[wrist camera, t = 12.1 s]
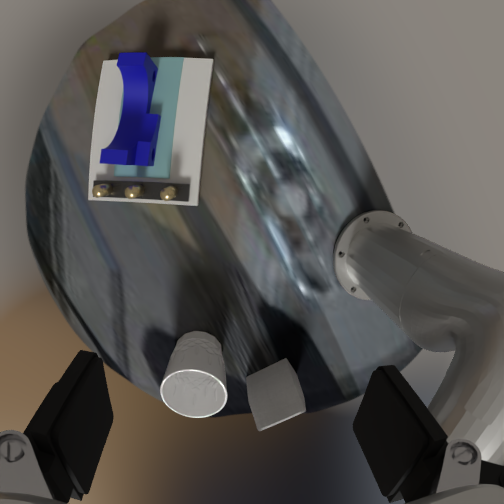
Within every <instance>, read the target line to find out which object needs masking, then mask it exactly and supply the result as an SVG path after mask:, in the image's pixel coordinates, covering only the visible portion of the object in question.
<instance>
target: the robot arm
mask: <svg viewBox="0 0 504 504" xmlns="http://www.w3.org/2000/svg"><path fill="white" fill-rule="evenodd" d="M364 218H365V220H364ZM363 220H364V221H363ZM398 224H399V225H398ZM340 251H341V253H340V254H339V252H340ZM333 266H334V272H335V275H336V277H337V280H338V281H339V283H340V284H341V286H342V287H343V288H344V289H345V290H346V291H347V292H348V293H349V294H351V295H352V296H354V297H356V298H359V299H363V300H372V301H373V302H374V303H375V304H376V305H377V306H378V307H379V308H380V309H381V310H382V311H383V312H384V313H385V314H386V315H387V316H388V317H389V318H390V319H391V320H392V321H393V322H394V323H395V324H396V325H397V326H398V327H399V328H400V329H401V330H402V331H403V332H404V333H405V334H406V335H407V336H408V337H409V338H410V339H411V340H412V341H413V342H415V343H416V344H417V345H418V346H420V347H422V348H423V349H426V350H429V351H432V352H449V351H455V354H454V357H453V359H452V362H451V364H450V366H449V368H448V370H447V372H446V375H445V377H444V379H443V381H442V383H441V385H440V387H439V389H438V390H437V392H436V394H435V396H434V397H433V399H432V401H431V402H430V404H429V406H428V408H427V407H426V406H425V405H424V403H423V402H422V401H421V399H420V398H419V397H418V395H417V394H416V393H415V391H414V390H413V389H412V388H411V386H410V385H409V383H408V382H407V381H406V380H405V378H404V377H403V376H402V374H401V373H400V372H399V371H398V369H397V368H396V367H395V366H394V365H388V366H379V367H378V368H377V369H376V370H375V371H373V373H372V375H371V378H370V381H369V384H368V386H367V389H366V392H365V394H364V397H363V400H362V402H361V405H360V407H359V410H358V412H357V415H356V417H355V419H354V422H353V431H354V433H355V435H356V437H357V440H358V442H359V444H360V446H361V448H362V451H363V453H364V455H365V457H366V459H367V462H368V464H369V466H370V468H371V470H372V473H373V475H374V477H375V479H376V482H377V484H378V486H379V489H380V491H381V493H382V495H383V496H385V497H386V496H387V498H388V501H389V503H391V502H394V501H398V500H401V499H404V500H405V504H504V272H502V271H499V270H496V269H493V268H490V267H488V266H485V265H483V264H480V263H478V262H476V261H473V260H471V259H469V258H467V257H464V256H462V255H460V254H458V253H456V252H453V251H451V250H449V249H447V248H444V247H442V246H440V245H438V244H436V243H433V242H431V241H429V240H426V239H424V238H422V237H419V236H417V235H415V234H412V232H411V230H410V228H409V226H408V225H407V224H406V222H405V221H404V220H403V219H401V218H400V217H399V216H397V215H395V214H394V213H391V212H388V211H383V210H372V211H368V212H365V213H362V214H360V215H359V216H357V217H355V218H354V219H353V220H351V221H350V222H349V223H348V224H347V225H346V227H345V228H344V229H343V230H342V232H341V234H340V235H339V237H338V239H337V242H336V244H335V248H334V253H333ZM352 287H353V288H352ZM351 288H352V289H351ZM106 383H107V382H106V377H105V372H104V366H103V361H102V358H99V357H98V355H97V353H94V352H88V351H83V350H80V351H79V352H78V354H77V355H76V357H75V358H74V359H73V361H72V362H71V364H70V365H69V367H68V368H67V370H66V371H65V373H64V374H63V376H62V378H61V379H60V380H59V382H57V383H55V384H54V385H53V386H52V388H51V390H50V391H49V393H48V394H47V396H46V397H45V399H44V400H43V402H42V404H41V405H40V407H39V408H38V410H37V411H36V413H35V415H34V416H33V418H32V419H31V421H30V423H29V424H28V426H27V428H26V429H25V431H24V433H21V432H19V431H14V430H6V431H3V432H0V504H67V503H68V502H69V500H70V497H71V498H74V499H77V500H80V501H81V500H82V497H83V494H88V493H89V490H90V487H91V484H92V481H93V478H94V475H95V472H96V469H97V465H98V463H99V460H100V457H101V454H102V451H103V448H104V445H105V443H106V440H107V437H108V434H109V431H110V428H111V426H112V423H113V411H112V407H111V402H110V398H109V393H108V388H107V384H106Z"/></svg>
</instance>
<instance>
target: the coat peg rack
mask: <svg viewBox="0 0 504 504" xmlns="http://www.w3.org/2000/svg"><path fill="white" fill-rule="evenodd" d="M92 194H93V197H96V198H99V197H110V198H128V199H151V200H164V201H184V202H189V196H190V184H182V183H164V182H143V181H115V180H94V181H93V189H92Z"/></svg>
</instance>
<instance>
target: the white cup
mask: <svg viewBox="0 0 504 504" xmlns="http://www.w3.org/2000/svg"><path fill="white" fill-rule="evenodd" d="M160 392H161V397H162V399H163V401H164V402H165V403H166V405H167V406H168V407H170V409H172V410H173V411H175V412H177V413H179V414H181V415H184V416H187V417H194V418H201V417H207V416H211V415H213V414H215V413H217V412H219V411H220V410H221V409H222V408H223V407H224V405H225V403H226V401H227V387H226V374H225V366H224V359H223V353H222V348H221V344H220V343H219V341H218V340H217V339H216V338H215V337H214V336H212V335H210V334H208V333H207V332H202V331H192V332H189V333H186V334H184V335H183V336H182V337H181V338H180V339H179V340H178V341H177V344H176V347H175V349H174V351H173V353H172V355H171V358H170V361H169V363H168V366H167V369H166V372H165V375H164V378H163V381H162V384H161V388H160Z"/></svg>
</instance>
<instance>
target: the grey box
mask: <svg viewBox="0 0 504 504" xmlns="http://www.w3.org/2000/svg"><path fill="white" fill-rule="evenodd" d="M246 380H247V390H248V399H249V404H250V407H251V410H252V413H253V416H254V419H255V423H256V425H257V429H258V430H259V431H261V430H264V429H266V428H268V427H271V426H273V425H276V424H278V423H280V422H283V421H285V420H287V419H290V418H292V417H294V416H296V415H298V414H301V413H303V412H305V411H306V408H305V399H304V395H303V392H302V389H301V386H300V383H299V380H298V377H297V374H296V372H295V371H294V369H293V368H292V366H291V365H290V363H289V361H288V360H287V358H285V359H283V360H281V361H279V362H277V363H275V364H272V365H270V366H268V367H266V368H264V369H262V370H260V371H258V372H256V373H254V374H251V375H249V376H247V377H246Z"/></svg>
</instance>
